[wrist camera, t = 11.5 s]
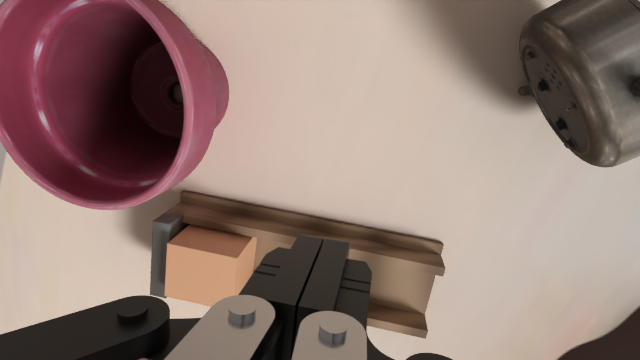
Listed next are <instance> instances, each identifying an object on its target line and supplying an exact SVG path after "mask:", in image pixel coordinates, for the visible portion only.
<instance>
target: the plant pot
mask: <svg viewBox="0 0 640 360" xmlns="http://www.w3.org/2000/svg"><path fill="white" fill-rule="evenodd" d="M177 83H180V86H181V90H182V97H183V104H178V103H176V102H175V101H174V100H173V99H172V97H171V88H172V86H173V85H175V84H177ZM228 100H229V86H228V81H227V77H226V74H225V71H224V69H223V67H222V65H221V63H220V62H219V60H218V59H217V57H216V56H215V55H214V54H213V53H212V52H211V51H210V50H209V49H208V48H207V47H205V46H204V45H203V44H201V43H200V42H198V41H197V40H196V39H195V37H194V36H193V34H192V33H191V31H190V30H189V29H188V28H187V27H186V25H185V24H184V23H183V22H182V21H181V20H180V19H179V18H178V17H177V16H176V15H175V14H174V13H173V12H172V11H171V10H170V9H169V8H167V7H166V6H165V5H164V4H162V3H161V2H159V1H158V0H4V1H3V3H1V5H0V141H1V143H2V144H3V146H4V147H5V149H6V151H7V152H8V153H9V155H10V156H11V157H12V159H13V160H14V162H15V163H16V164H17V165H18V166H19V167H20V168H21V169H22V170H23V171H24V172H25V174H26V175H27V176H29V177H30V178H31V179H32V180H33V181H34V182H35V183H37V184H38V185H39V186H41V187H42V188H43V189H45V190H46V191H48V192H49V193H51V194H53V195H55V196H56V197H58V198H60V199H63V200H65V201H67V202H69V203H72V204H75V205H78V206H82V207H86V208H91V209H100V210H118V209H125V208H129V207H133V206H136V205H139V204H141V203H144V202H146V201H148V200H150V199H152V198H154V197H156V196H158V195H160V194H161V193H163V192H165V191H167V190H168V189H170V188H172V187H173V186H175V185H176V184H178V183H179V182H181V181H182V180H183V179H185V178H186V177H187V176H188V175H189V174H190V173H191V172H192V171H193V170H194V169H195V168H196V167H197V165H198V164H199V163H200V161H201V160H202V158H203V156H204V155H205V153H206V151H207V149H208V146H209V144H210V141H211V138H212V135H213V131H214V129H215V128H216V127H217V125H218V124H219V123H220V121H221V120H222V118H223V116H224V115H225V112H226V109H227V106H228Z"/></svg>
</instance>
